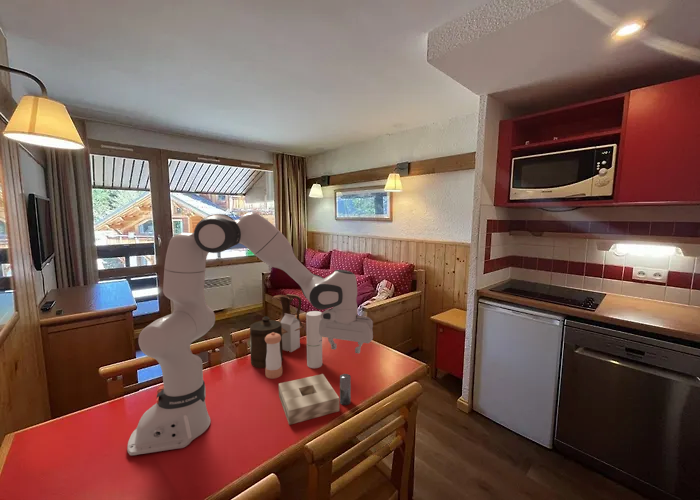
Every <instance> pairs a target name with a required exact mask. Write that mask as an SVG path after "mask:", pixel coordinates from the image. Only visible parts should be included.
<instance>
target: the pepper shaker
mask: <svg viewBox="0 0 700 500" xmlns="http://www.w3.org/2000/svg"><path fill="white" fill-rule="evenodd" d="M280 341H281V336H280V334H278V333H274V332H272V333H270V334H268V335H267V336H266V337H265V342H266V343H267V355H266V368H264V371H265V372H264V373H265V377H266V378H267V379H270V380H271V379H272V380H273V379H277V378H280V377H281V376H282V375H283V365H282V361H281V354H280Z"/></svg>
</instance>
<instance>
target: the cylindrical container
mask: <svg viewBox="0 0 700 500" xmlns="http://www.w3.org/2000/svg"><path fill="white" fill-rule="evenodd" d="M322 312H323V311H322ZM322 312H321V311H320V310H319V311H318V310H312V311H307V312H306V314H305V315H306V366H307V367H308V368H310V369H318V368H321V367H322V366H323V337H321V336H320V334H319V323H320V320H321V313H322Z"/></svg>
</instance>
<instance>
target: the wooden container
mask: <svg viewBox="0 0 700 500" xmlns="http://www.w3.org/2000/svg"><path fill="white" fill-rule="evenodd" d="M272 332H274V333H278V334H280V336H281V341H280V354H281V362H283V359H284V358H283V357H284V355H283V354H284V353H283V352H284V350H283V348H282V326H281V322H279V320H276V319H275V320H274V319H270V317H269V316H263V317H262V320H259V321H255V322H253V323H252V324H250V325H249V343H250V344H249V346H250V349H249V350H250V364H251V366H252V367H255V368H258V369H265V368H266V355H267V343H266V342H265V337H266V336H267V335H268V334H270V333H272Z"/></svg>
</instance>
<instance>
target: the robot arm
mask: <svg viewBox="0 0 700 500" xmlns="http://www.w3.org/2000/svg"><path fill="white" fill-rule="evenodd" d="M239 244H241V245H243V246H244V247H245V248H247V249H248V250H249V251H250V252H251V253H252V254H253V255H254V256H255V257H257V258H258V259H259V260H260V261H262V262H263V263H265V264H266V265H268V266H269V267H271V268H275V269H279V270H281V271H283V272H285V274H287V275H288V276H289V277H290V278H291V279H293V281H295V282H296V283H297V284H298V286H299V287H300V289H301V292H302V294H303V296H304V297H305V299H306V300H308V302H309V303H310V305H311V306H312V307H313V308H315V309H317V310H319V311H320V310H321V311H322V310H324V311H322V313H321V320H320V323H319V334H320V336H321V337H322V338H326V339H327V340H328V342H329V344H330V349H331V350H337V343H336V342H335V340H342V341H348V342H349V341H350V342H355V343H356V342H357V345H358V346H356V347H355V349H354V350H355V351H354V353H355V354H360V353H361V347H362V346H363V344H370V343H371V342H372V341H373V338H374V335H373V334H374V332H373V327H374V321H373V320H372V318H370V317H369V316H366V315H365V316H364V315H358V303H357V297H358V284H357V283H358V281H357V276H356V275H355V273H354V272H352V271H349V270H346V269H336V270H334V272H332V273H330V275H328V276H325V278H324V277H323V276H320V275H318V274H315V273H312V272H311V271H310V270H309V269H307V267H306V266H305V265H303V263H302V262H300V260H298V258H297V256H296V255H295V253H294V251H293V250H294V249H293V246H292V245H291V243H290V242H289V240H288V238H287V237H286V236H285V235H284V234H283V232H281V231H280V230H279V229H278V228H277V227H276V226H275V225H273V223H272V222H270V221H269V220H268V219H266V218H265V217H264V216H262V215H260V214H259V213H257V212H252V211H251V212H247V213H245V214H243V215H242V216H240V217H239V218H237V219H234V218H232V217H231V216H229V215H227V214H223V213H219V214H218V213H216V214H215V213H214V214H211V215H208V216H206V217H204V218H202V219H201V220H200V221H198V223H197V224H196V226H195V227H194V230H193V232H181V233H177V234H175V235H173V236H172V237H171V239H170V240H169V243H168V245H167V250H166V253H165V260H164V267H163V268H164V272H163V284H162V285H163V286H162V292H163V295H164V296H165V297H166V298H167V299H169V300H171V301H172V303H173V310H172V313H170V314H167V315H165V316H162V317H160V318H157V319H156V320H154V321H153V322H151V323H149V324H148V325H147V326H145V327H144V328H143V329H142V330H141V331H140V333H139V334H138V339H137V340H138V346H139V349H140V350H141V352H142V353H143V354H144V355H145V356H147V357H149V358H151V359H154V360H156V361H157V363H158V364H159V366H160V368H161V371H162V372H161V373H162V381H163V382H162V383H163V385H160V386H159V387H158V388H157V390H156V403H155V404H153V405H152V406H151V407H149V408H148V409H147V410H146V411H145V412H144V413H143V414H142V415H141V417H140V419H139V420H138V423H137V426H136V428H135V429H134V430H133V431H132V432H131V435H130V437H129V439H128V441H127V453H128V455H129V456H137V455H143V454H150V453H157V452H162V451H163V452H164V451H169V450H178V449H183V448H185V447H188V445H190V444H191V442H193V440H195V439H196V438H198V437H199V436H201V435H202V434H203V433H205V432H206V431H207V430H208V428H209V426H210V425H211V417H210V415H209V413H208V409H207V405H206V396H207V395H206V394H207V393H206V392H207V391H206V383H205V380H204V375H203V374H204V373H203V361H202V359H201V358H202V357H200V356H198V355H197V354H193V352H192V350H191V344H192V343H193V342H194V341H197V340H198V339H200V338H201V337H203V336H205V335H206V334H207V333H208V332H210V330H211V329H212V328H213V327H214V325H215V323H216V314H215V312H214V310H213V309H212V308H211V307H210V306H209V305H208V304H207V301H206V297H205V280H206V279H205V277H206V263H207V257H208V255H209V253H210V254H218V253H222V252H225V251H227V250H229V249H231V248H232V247H236V246H237V245H239ZM334 339H335V340H334Z"/></svg>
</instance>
